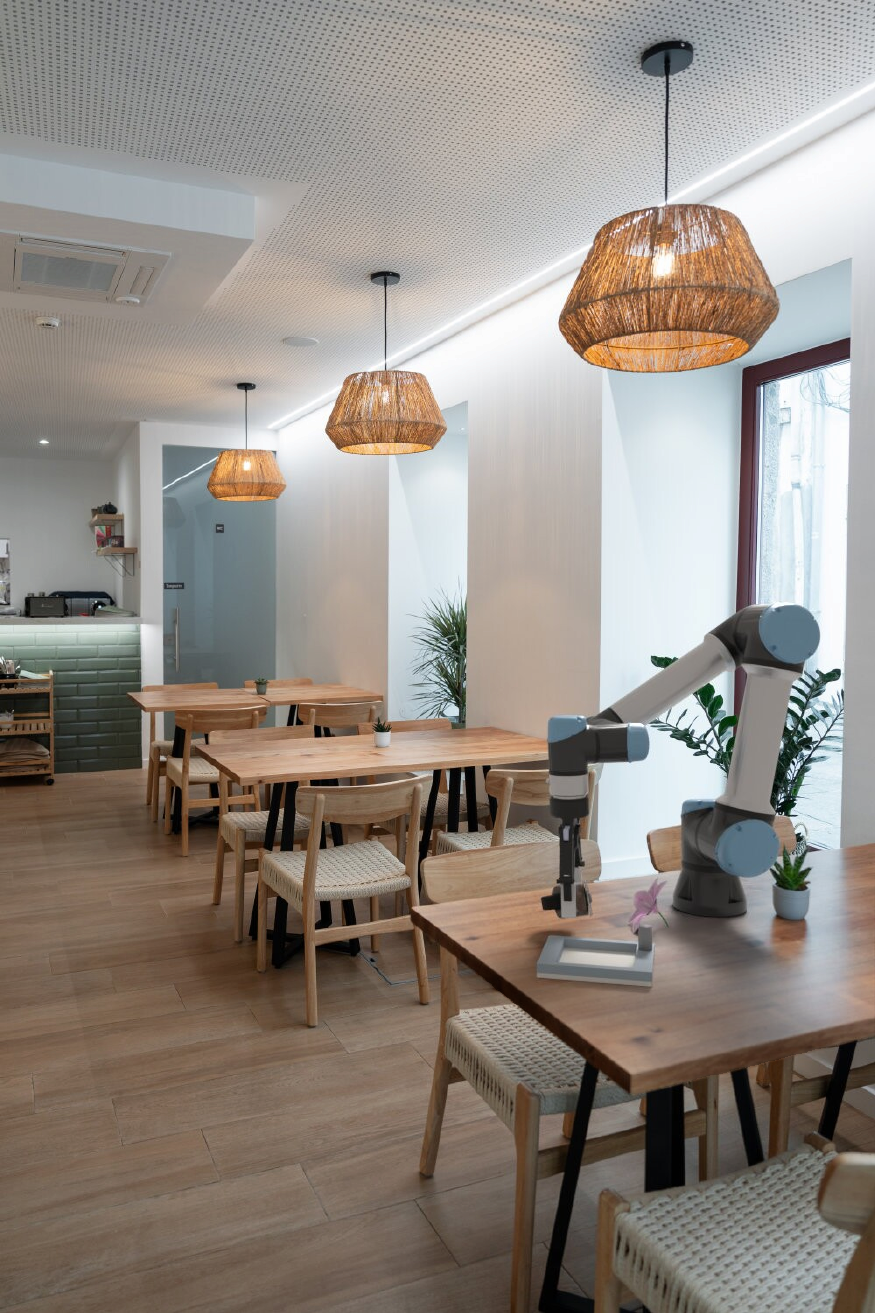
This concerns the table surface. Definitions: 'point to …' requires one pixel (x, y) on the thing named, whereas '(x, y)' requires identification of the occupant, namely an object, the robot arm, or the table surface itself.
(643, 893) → the lily
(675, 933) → the table surface
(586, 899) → the caster wheel
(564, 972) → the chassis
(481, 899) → the table surface
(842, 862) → the table surface
